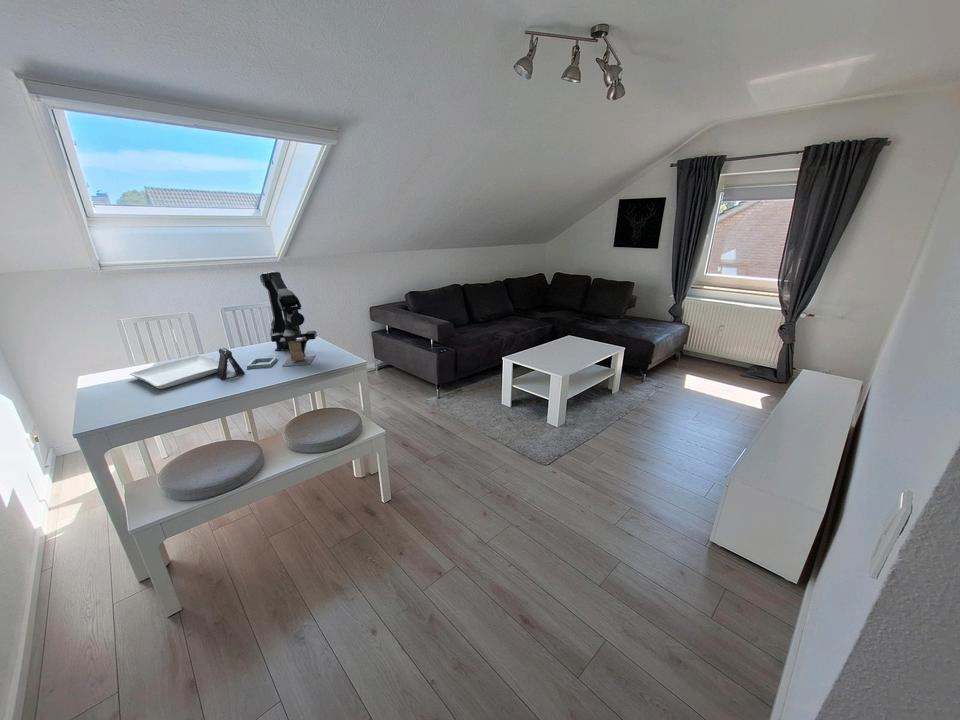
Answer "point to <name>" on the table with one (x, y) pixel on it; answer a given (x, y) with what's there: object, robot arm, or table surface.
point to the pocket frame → (253, 365)
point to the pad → (298, 361)
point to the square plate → (178, 371)
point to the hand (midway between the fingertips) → (297, 353)
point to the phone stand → (223, 365)
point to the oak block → (296, 350)
